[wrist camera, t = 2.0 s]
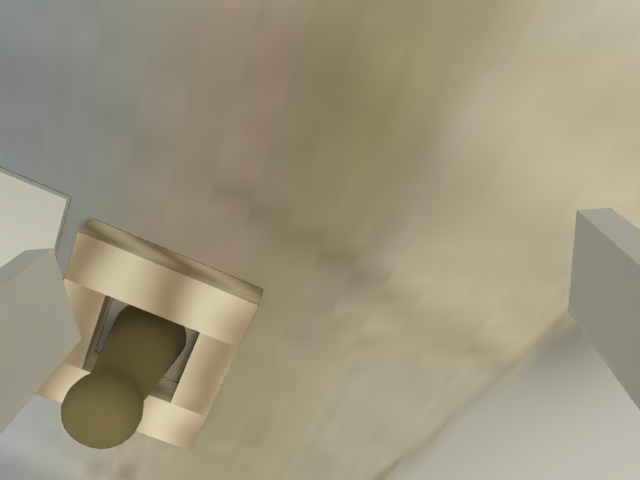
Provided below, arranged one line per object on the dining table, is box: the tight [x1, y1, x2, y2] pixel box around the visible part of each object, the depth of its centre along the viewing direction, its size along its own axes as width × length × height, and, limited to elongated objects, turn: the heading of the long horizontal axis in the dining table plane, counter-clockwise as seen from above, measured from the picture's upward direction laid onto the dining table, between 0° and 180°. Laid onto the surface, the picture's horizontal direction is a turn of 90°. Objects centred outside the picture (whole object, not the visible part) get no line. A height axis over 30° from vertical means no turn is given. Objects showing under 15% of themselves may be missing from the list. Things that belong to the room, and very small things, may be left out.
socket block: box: [35, 219, 263, 451], centre depth 43 cm, size 14×16×2 cm
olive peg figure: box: [61, 305, 186, 449], centre depth 40 cm, size 6×6×11 cm
